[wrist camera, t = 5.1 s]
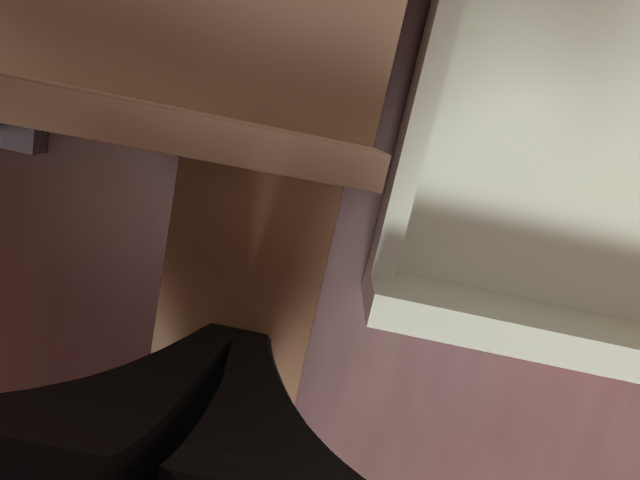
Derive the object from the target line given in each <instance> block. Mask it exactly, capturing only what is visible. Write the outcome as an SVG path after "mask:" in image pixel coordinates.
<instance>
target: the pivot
mask: <svg viewBox="0 0 640 480" xmlns="http://www.w3.org/2000/svg"><path fill="white" fill-rule="evenodd" d="M47 140H48V132H46V131H41V130H36V129H30V128H25V127H20V126H14V125H9V124H3V123H0V148H2V149H6V150H11V151H16V152H20V153H25V154H29V155H36V154H42V153H46V151H47Z"/></svg>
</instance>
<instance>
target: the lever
mask: <svg viewBox="0 0 640 480" xmlns="http://www.w3.org/2000/svg"><path fill="white" fill-rule="evenodd" d="M407 2H408V0H0V123H3V124H9V125H14V126H20V127H25V128H30V129H36V130H41V131H46V132H52V133H57V134H63V135H68V136H73V137H79V138H84V139H90V140H95V141H100V142H106V143H111V144H116V145H122V146H127V147H133V148H138V149H143V150H149V151H154V152H160V153H165V154H170V155H176V156H180V157H179V164H178V171H177V177H176V184H175V191H174V198H173V204H172V211H171V218H170V225H169V231H168V238H167V245H166V252H165V258H164V265H163V272H162V279H161V285H160V292H159V299H158V306H157V312H156V319H155V326H154V333H153V339H152V346H151V353H153V352H156V351H158V350H160V349H163V348H165V347H167V346H169V345H171V344H172V343H174V342H176V341H178V340H180V339H182V338H184V337H186V336H188V335H190V334H191V333H193V332H195V331H197V330H199V329H201V328H202V327H204V326H206V325H208V324H210V323H214V324H219V325H225V326H229V327H234V328H239V329H244V330H248V331H253V332H258V333H263V334H268V336H269V337H270V339H271V347H272V352H273V356H274V360H275V363H276V366H277V369H278V372H279V374H280V377H281V379H282V382H283V384H284V386H285V388H286V391H287V393H288V394H289V396H290V398H291V400H292V402H293V404H295V400H296V396H297V391H298V387H299V382H300V378H301V373H302V369H303V365H304V360H305V356H306V351H307V347H308V342H309V338H310V333H311V329H312V325H313V320H314V316H315V311H316V307H317V302H318V298H319V293H320V289H321V285H322V280H323V276H324V271H325V267H326V262H327V258H328V254H329V249H330V245H331V240H332V236H333V231H334V227H335V222H336V218H337V214H338V209H339V205H340V200H341V196H342V191H343V187H348V188H353V189H359V190H364V191H369V192H375V193H380V194H382V192H383V188H384V184H385V180H386V176H387V172H388V168H389V164H390V160H391V155H390V154H388V153H386V152H383V151H381V150H379V149H376V148H374V142H375V138H376V134H377V130H378V125H379V121H380V117H381V112H382V108H383V104H384V100H385V95H386V91H387V87H388V83H389V78H390V74H391V70H392V66H393V61H394V57H395V53H396V49H397V44H398V40H399V36H400V31H401V27H402V23H403V19H404V14H405V10H406V6H407ZM151 353H150V354H151Z"/></svg>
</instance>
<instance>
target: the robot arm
mask: <svg viewBox="0 0 640 480" xmlns="http://www.w3.org/2000/svg"><path fill="white" fill-rule="evenodd" d="M0 480H366V479H364V478H363V477H362V476H360V475H359V474H358V473H357V472H355V471H354V470H353V469H352V468H350V467H349V466H348V465H347V464H345V463H344V462H343V461H342V460H341V459H340V458H338V457H337V456H336V455H335V454H334V453H333V452H332V451H331V450H330V449H329V448H328V447H327V446H326V445H325V444H324V443H323V442H322V441H321V440H320V439H319V438H318V437H317V435H316V434H315V433H314V432H313V431H312V430H311V429H310V427H309V426H308V425H307V424H306V422H305V421H304V420H303V418H302V417H301V415H300V414H299V412H298V411H297V409H296V407H295V406H294V404H293V402H292V400H291V398H290V396H289V394H288V393H287V391H286V388H285V386H284V384H283V382H282V379H281V377H280V374H279V372H278V369H277V366H276V363H275V360H274V356H273V352H272V347H271V339H270V337H269V336H268V334H263V333H258V332H253V331H248V330H244V329H239V328H234V327H229V326H225V325H219V324H214V323H210V324H208V325H206V326H204V327H202V328H201V329H199V330H197V331H195V332H193V333H191V334H190V335H188V336H186V337H184V338H182V339H180V340H178V341H176V342H174V343H172V344H171V345H169V346H167V347H165V348H163V349H160V350H158V351H156V352H153V353H151V354H149V355H147V356H144V357H142V358H140V359H137V360H135V361H133V362H131V363H128V364H125V365H123V366H120V367H117V368H114V369H111V370H108V371H105V372H101V373H98V374H95V375H92V376H88V377H84V378H81V379H76V380H71V381H67V382H62V383H57V384H53V385H48V386H43V387H39V388H33V389H27V390H20V391H13V392H6V393H0Z"/></svg>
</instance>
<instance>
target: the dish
mask: <svg viewBox="0 0 640 480" xmlns="http://www.w3.org/2000/svg"><path fill="white" fill-rule="evenodd" d="M361 290H362V297H363V305H364V312H365V319H366V326H367V327H371V328H376V329H380V330H385V331H390V332H395V333H399V334H404V335H409V336H414V337H418V338H423V339H428V340H433V341H437V342H442V343H447V344H452V345H456V346H461V347H466V348H471V349H475V350H480V351H485V352H490V353H494V354H499V355H504V356H509V357H513V358H518V359H523V360H528V361H532V362H537V363H542V364H547V365H552V366H556V367H561V368H566V369H571V370H575V371H580V372H585V373H590V374H594V375H599V376H604V377H609V378H613V379H618V380H623V381H628V382H632V383H637V384H640V0H431V3H430V7H429V11H428V15H427V20H426V24H425V28H424V32H423V36H422V40H421V44H420V48H419V52H418V56H417V60H416V65H415V69H414V73H413V77H412V81H411V85H410V89H409V93H408V97H407V101H406V105H405V110H404V114H403V118H402V122H401V126H400V130H399V134H398V138H397V142H396V146H395V150H394V155H393V159H392V163H391V167H390V171H389V175H388V179H387V183H386V187H385V191H384V195H383V200H382V204H381V208H380V212H379V216H378V220H377V224H376V228H375V232H374V236H373V240H372V245H371V249H370V253H369V257H368V261H367V265H366V269H365V273H364V277H363V281H362V285H361Z"/></svg>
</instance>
